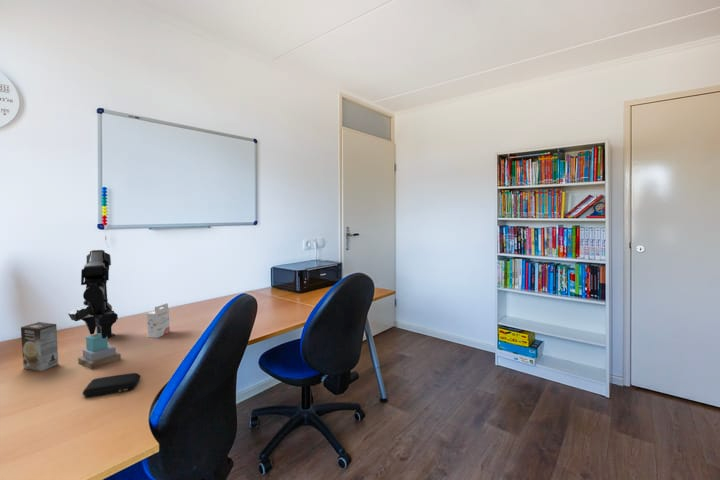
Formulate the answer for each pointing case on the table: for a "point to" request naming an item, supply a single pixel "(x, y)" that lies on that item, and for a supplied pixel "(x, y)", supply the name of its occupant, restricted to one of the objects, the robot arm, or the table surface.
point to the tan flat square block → (98, 361)
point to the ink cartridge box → (158, 321)
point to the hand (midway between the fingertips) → (98, 336)
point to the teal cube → (96, 342)
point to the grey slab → (99, 353)
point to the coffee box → (39, 346)
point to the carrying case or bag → (112, 384)
